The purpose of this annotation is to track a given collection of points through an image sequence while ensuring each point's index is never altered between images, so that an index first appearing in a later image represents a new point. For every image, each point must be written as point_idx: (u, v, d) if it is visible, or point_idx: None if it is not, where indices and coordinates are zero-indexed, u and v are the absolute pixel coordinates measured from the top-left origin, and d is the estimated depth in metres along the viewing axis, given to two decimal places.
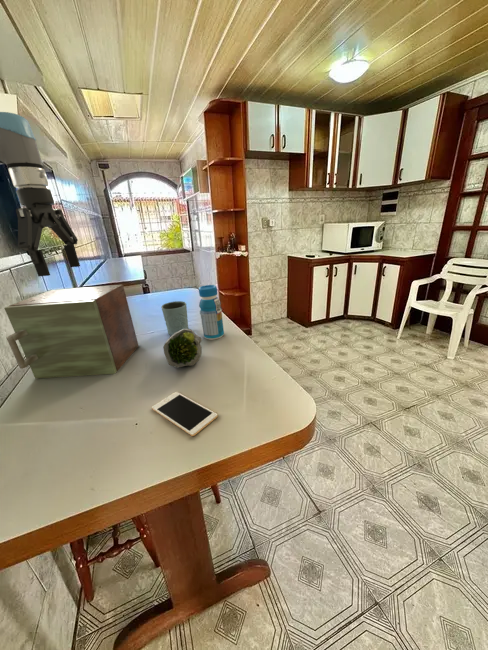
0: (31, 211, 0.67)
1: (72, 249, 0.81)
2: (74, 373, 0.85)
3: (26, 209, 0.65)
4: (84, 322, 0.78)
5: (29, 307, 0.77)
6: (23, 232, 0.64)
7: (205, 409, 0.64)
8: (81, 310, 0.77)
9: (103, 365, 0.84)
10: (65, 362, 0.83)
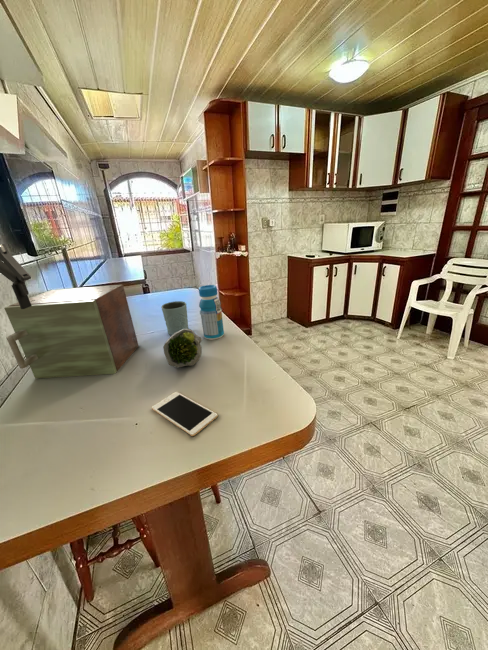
0: None
1: None
2: (74, 373, 0.85)
3: None
4: (84, 322, 0.78)
5: (29, 307, 0.77)
6: (17, 266, 0.68)
7: (205, 409, 0.64)
8: (81, 310, 0.77)
9: (103, 365, 0.84)
10: (65, 362, 0.83)
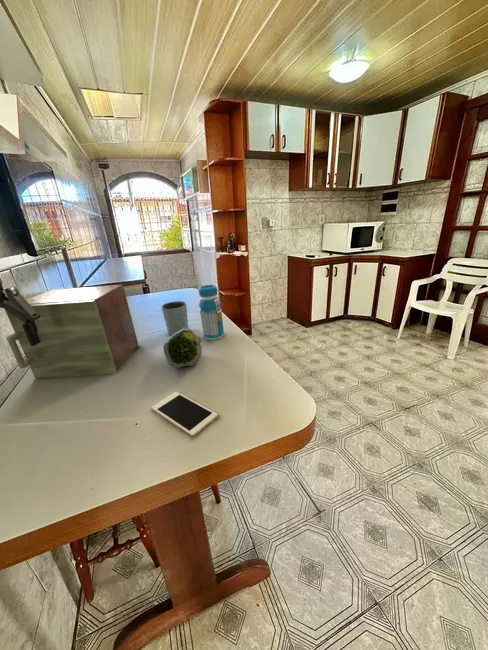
0: None
1: None
2: (74, 373, 0.85)
3: None
4: (84, 322, 0.78)
5: None
6: (27, 306, 0.71)
7: (205, 409, 0.64)
8: (81, 310, 0.77)
9: (103, 365, 0.84)
10: (65, 362, 0.83)
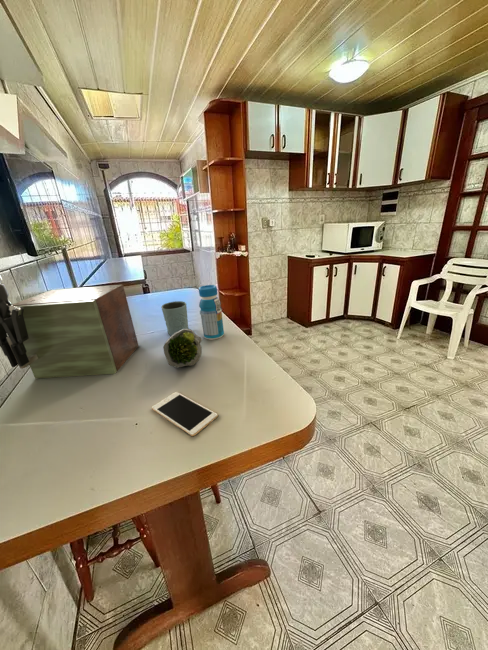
0: (12, 306, 0.72)
1: None
2: (74, 373, 0.85)
3: None
4: (84, 322, 0.78)
5: (29, 307, 0.77)
6: (23, 328, 0.74)
7: (205, 409, 0.64)
8: (81, 310, 0.77)
9: (103, 365, 0.84)
10: (65, 362, 0.83)
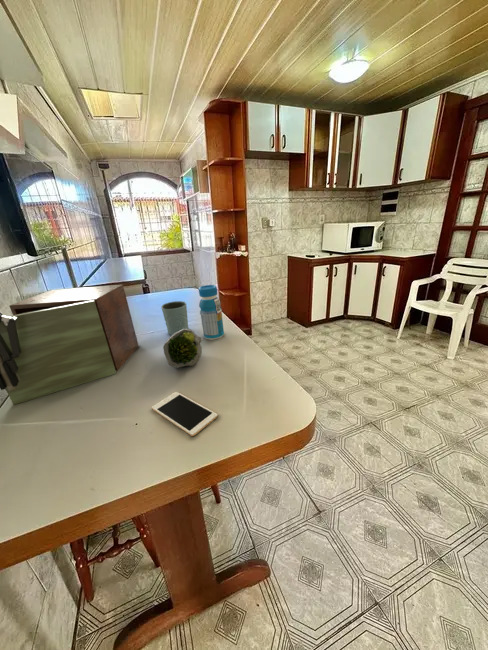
0: None
1: None
2: (68, 385, 0.79)
3: None
4: (83, 324, 0.76)
5: None
6: (17, 341, 0.65)
7: (205, 409, 0.64)
8: (80, 312, 0.75)
9: (103, 367, 0.82)
10: (56, 374, 0.76)
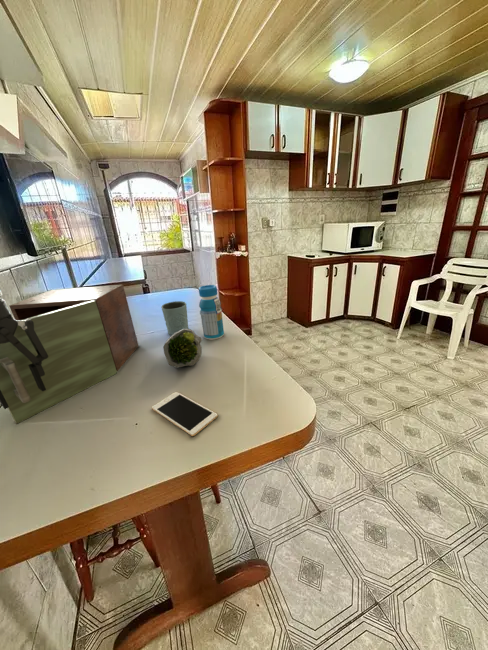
0: None
1: None
2: (73, 391, 0.75)
3: None
4: (85, 325, 0.75)
5: None
6: None
7: (205, 409, 0.64)
8: (83, 313, 0.74)
9: (105, 368, 0.82)
10: (61, 382, 0.72)
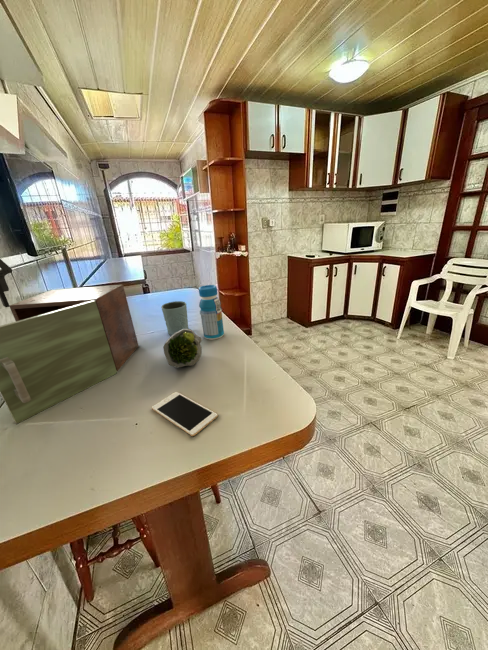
0: None
1: None
2: (73, 391, 0.75)
3: None
4: (85, 325, 0.75)
5: (15, 325, 0.62)
6: None
7: (205, 409, 0.64)
8: (83, 313, 0.74)
9: (105, 368, 0.82)
10: (61, 382, 0.72)
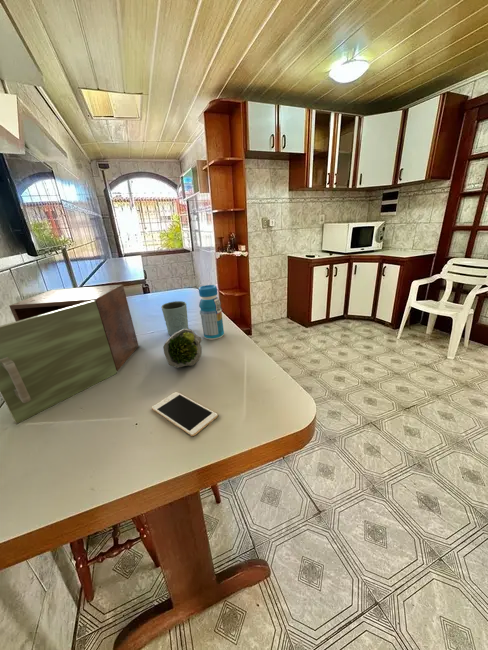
0: None
1: None
2: (73, 391, 0.75)
3: None
4: (85, 325, 0.75)
5: (15, 325, 0.62)
6: None
7: (205, 409, 0.64)
8: (83, 313, 0.74)
9: (105, 368, 0.82)
10: (61, 382, 0.72)
